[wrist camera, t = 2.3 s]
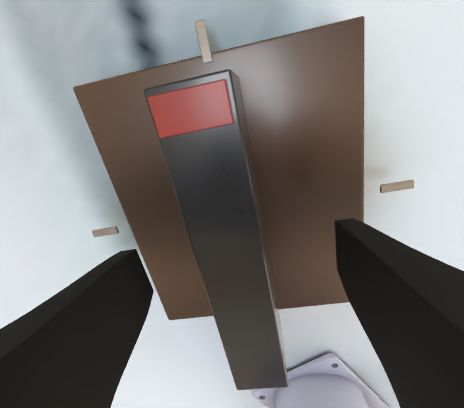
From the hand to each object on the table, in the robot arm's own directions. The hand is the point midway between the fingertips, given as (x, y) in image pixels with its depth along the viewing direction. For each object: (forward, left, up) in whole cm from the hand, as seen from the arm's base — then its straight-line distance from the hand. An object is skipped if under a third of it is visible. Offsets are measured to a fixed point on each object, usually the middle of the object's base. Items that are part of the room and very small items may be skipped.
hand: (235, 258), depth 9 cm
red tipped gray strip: (0, 0, -4) cm, 4 cm away
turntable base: (0, 0, -6) cm, 6 cm away
